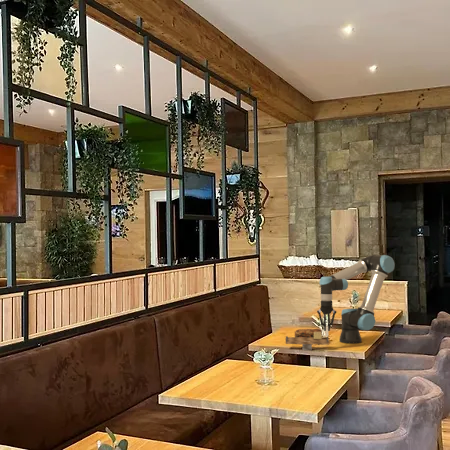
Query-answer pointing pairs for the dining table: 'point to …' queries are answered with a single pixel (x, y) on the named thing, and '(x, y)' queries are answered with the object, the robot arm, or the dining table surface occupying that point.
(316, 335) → the block
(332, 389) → the dining table surface
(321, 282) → the robot arm
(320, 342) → the beam
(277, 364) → the dining table surface
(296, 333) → the bread
